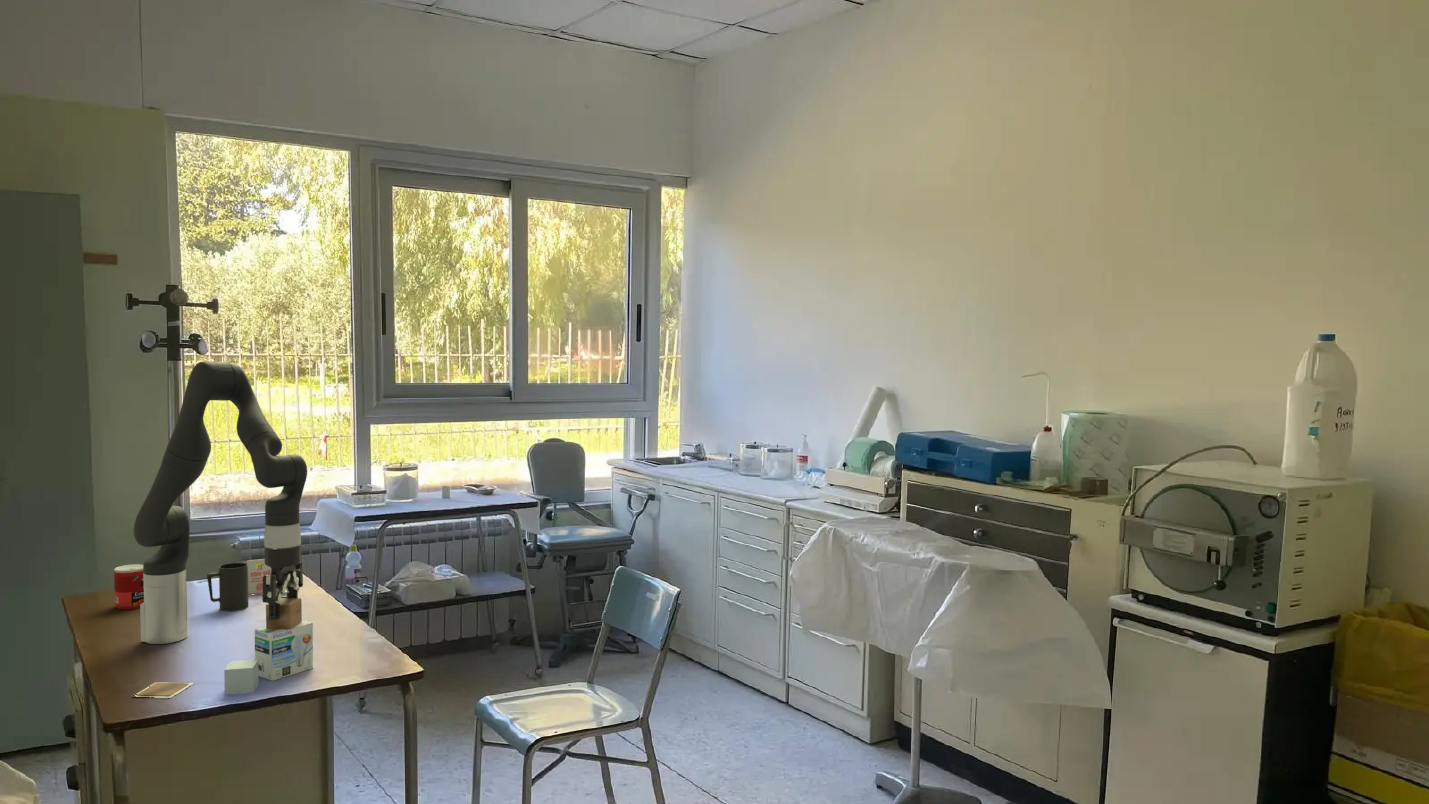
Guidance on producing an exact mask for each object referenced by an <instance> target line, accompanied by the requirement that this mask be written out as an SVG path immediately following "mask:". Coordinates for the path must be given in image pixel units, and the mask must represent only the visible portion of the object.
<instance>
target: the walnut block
mask: <svg viewBox="0 0 1429 804" xmlns="http://www.w3.org/2000/svg"><path fill="white" fill-rule="evenodd" d="M279 603H280V618H279V619H278V620H270V619H269V604H268V603H266V604H265V626H266V629H292V628H293V627H295V626H296V625H298V624H299V623H301V622H302V620H303V619H302V618H303V615H302V611H303V610H302V607H303V605H302V603H303V602H302V598H299V597H298V598H281V599H280V602H279Z"/></svg>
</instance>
